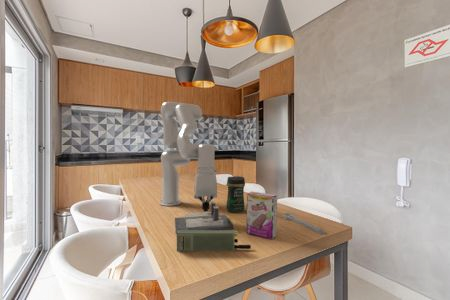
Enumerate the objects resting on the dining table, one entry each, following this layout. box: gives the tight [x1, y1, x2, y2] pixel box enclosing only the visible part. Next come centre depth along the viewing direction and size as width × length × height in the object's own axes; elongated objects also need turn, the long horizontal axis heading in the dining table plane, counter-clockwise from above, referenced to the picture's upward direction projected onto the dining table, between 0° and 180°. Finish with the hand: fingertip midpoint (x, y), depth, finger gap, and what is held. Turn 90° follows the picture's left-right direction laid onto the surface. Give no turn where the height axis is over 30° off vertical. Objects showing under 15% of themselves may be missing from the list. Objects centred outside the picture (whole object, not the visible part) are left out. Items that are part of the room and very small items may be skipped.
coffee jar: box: [225, 175, 246, 213], centre depth 120 cm, size 10×8×19 cm
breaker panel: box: [174, 211, 235, 235], centre depth 98 cm, size 15×24×4 cm, turn 104°
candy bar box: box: [245, 191, 278, 240], centre depth 88 cm, size 11×5×16 cm, turn 59°
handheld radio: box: [176, 229, 252, 252], centre depth 75 cm, size 7×3×25 cm
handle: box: [213, 205, 220, 221], centre depth 95 cm, size 2×2×6 cm
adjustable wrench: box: [281, 212, 326, 235], centre depth 101 cm, size 25×6×2 cm, turn 19°
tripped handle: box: [210, 200, 216, 215], centre depth 103 cm, size 2×2×6 cm
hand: (205, 210), depth 102 cm, fingers closed
